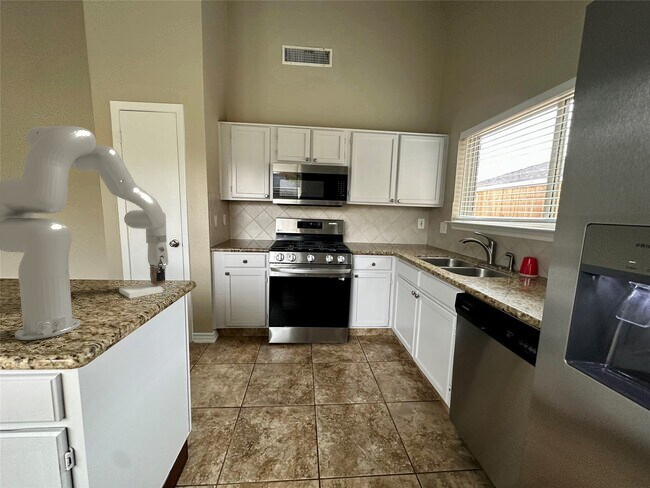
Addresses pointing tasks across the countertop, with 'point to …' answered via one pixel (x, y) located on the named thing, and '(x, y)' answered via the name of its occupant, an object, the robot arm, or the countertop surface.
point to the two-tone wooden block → (155, 275)
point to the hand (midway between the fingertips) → (157, 279)
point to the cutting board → (140, 290)
